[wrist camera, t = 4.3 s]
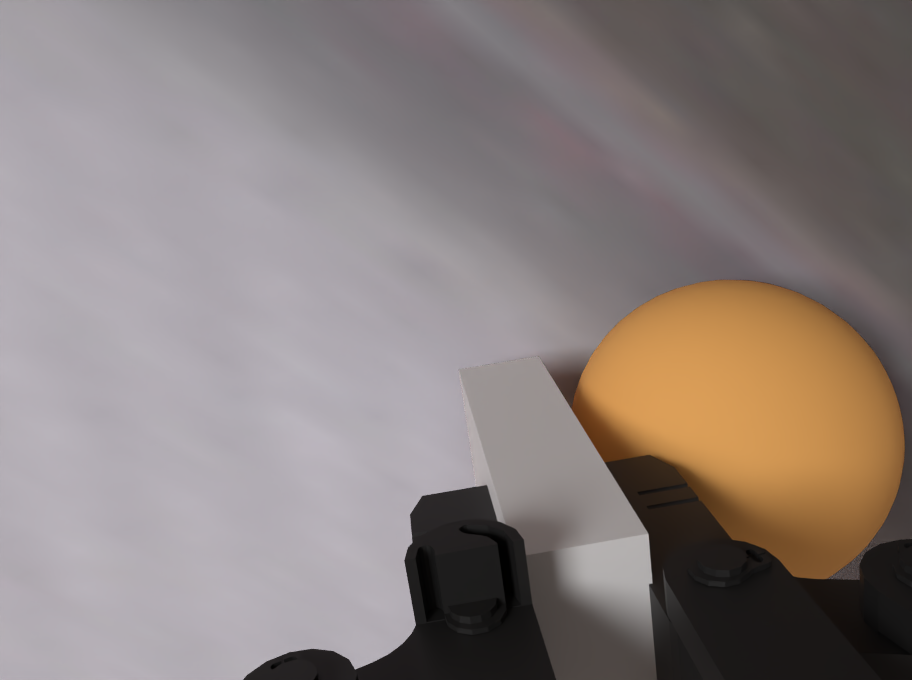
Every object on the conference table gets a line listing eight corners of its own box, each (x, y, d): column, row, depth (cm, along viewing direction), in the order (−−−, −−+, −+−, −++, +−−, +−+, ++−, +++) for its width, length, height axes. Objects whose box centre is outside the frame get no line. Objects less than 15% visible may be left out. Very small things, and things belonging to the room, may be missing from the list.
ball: (518, 280, 16) (784, 232, 17) (549, 531, 18) (790, 478, 19) (622, 366, 11) (996, 292, 12) (651, 709, 13) (979, 626, 14)
